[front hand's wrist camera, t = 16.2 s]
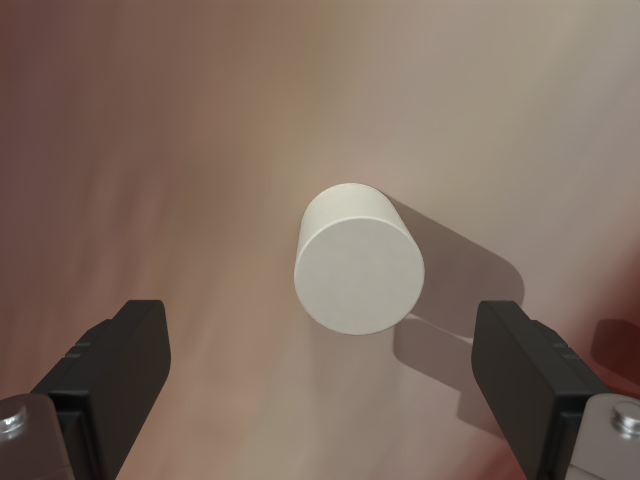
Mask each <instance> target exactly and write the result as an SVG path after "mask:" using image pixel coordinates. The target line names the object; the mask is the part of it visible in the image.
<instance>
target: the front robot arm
mask: <svg viewBox="0 0 640 480" xmlns="http://www.w3.org/2000/svg"><path fill="white" fill-rule="evenodd" d="M471 362H472V370H473V374H474V377H475V380H476V382H477V384H478V385H479V387H480V389H481V391H482V393H483V395H484V397H485V399H486V401H487V403H488V405H489V407H490V409H491V410H492V412H493V414H494V416H495V418H496V420H497V422H498V424H499V426H500V428H501V430H502V432H503V434H504V435H505V437H506V439H507V441H508V443H509V445H510V447H511V449H512V451H513V453H514V455H515V457H516V459H517V460H518V462H519V464H520V466H521V468H522V470H523V472H524V474H525V476H526V478H527V480H640V400H637V399H635V398H631V397H628V396H624V395H619V394H614V393H613V392H612V391H611V390H610V389H609V388H608V387H607V386H606V385H605V384H604V383H603V382H602V381H601V380H600V379H599V377H598V376H597V375H596V374H595V373H594V372H593V371H592V370H591V369H590V368H589V367H588V366H587V365H586V364H585V363H584V361H583V360H582V359H579V358H578V355H577V354H576V353H575V352H574V351H573V350H572V349H571V348H570V347H568V344H567V343H566V342H565V341H564V340H563V339H562V338H561V337H560V336H559V335H558V334H557V333H556V332H555V331H554V330H552V329H550V328H549V327H547V326H545V325H544V324H542V323H540V322H539V321H537V320H530V318H529V317H528V316H527V315H526V314H525V313H524V312H523V310H522V309H521V308H520V307H519V306H518V305H517V304H516V303H515V302H514V301H481V302H480V304H479V307H478V311H477V318H476V326H475V333H474V340H473V347H472V355H471ZM170 364H171V352H170V344H169V337H168V330H167V322H166V315H165V308H164V305H163V303H162V301H161V300H129V301H128V302H127V303H126V304H125V305H124V306H123V307H122V308H121V309H120V311H119V312H118V313H117V314H116V315H115V316H114V317H113V319H106V320H104V321H103V322H101V323H99V324H98V325H96V326H94V327H93V328H91V329H89V330H88V331H87V332H86V333H85V334H84V335H83V336H82V337H81V338H80V339H79V340H78V341H77V342H76V344H75V346H73V347H72V348H71V349H70V350H69V351H68V352H67V353H66V354H65V358H62V359H61V360H60V361H59V362H58V363H57V364H56V365H55V366H54V367H53V368H52V369H51V370H50V372H49V373H48V374H47V375H46V376H45V377H44V378H43V379H42V380H41V381H40V382H39V383H38V384H37V386H36V387H35V388H34V389H33V390H32V391H31V392H30V393H29V394H21V395H16V396H12V397H9V398H5V399H3V400H0V480H115V479H116V477H117V475H118V473H119V471H120V469H121V467H122V465H123V463H124V461H125V459H126V457H127V455H128V453H129V452H130V450H131V448H132V446H133V444H134V442H135V440H136V438H137V436H138V434H139V432H140V430H141V428H142V426H143V424H144V422H145V420H146V418H147V416H148V415H149V413H150V411H151V409H152V407H153V405H154V403H155V401H156V399H157V397H158V395H159V393H160V391H161V389H162V387H163V385H164V383H165V381H166V379H167V377H168V374H169V370H170Z"/></svg>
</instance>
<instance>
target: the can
mask: <svg viewBox="0 0 640 480" xmlns="http://www.w3.org/2000/svg"><path fill="white" fill-rule="evenodd" d="M424 279H425V268H424V261H423V258H422V255H421V252H420V250H419V248H418V246H417V245H416V243H415V241H414V240H413V238H412V236H411V235H410V233H409V231H408V230H407V228H406V226H405V225H404V223H403V221H402V220H401V218H400V216H399V215H398V213H397V212H396V210H395V208H394V207H393V205H392V204H391V202H390V201H389V200H388V199H387V198H386V197H385V196H384V195H383V194H382V193H380V192H379V191H377V190H376V189H374V188H372V187H369V186H366V185H362V184H355V183H347V184H340V185H336V186H333V187H331V188H329V189H327V190H325V191H323V192H322V193H320V194H319V195H318V196H317V197H316V198H314V200H313V201H312V202H311V203H310V204H309V206H308V207H307V209H306V211H305V213H304V215H303V219H302V223H301V229H300V236H299V243H298V250H297V257H296V263H295V270H294V283H295V289H296V293H297V296H298V298H299V301H300V303H301V304H302V306H303V308H304V309H305V310H306V312H307V313H308V314H309V315H310V316H311V317H312V318H313V319H314V320H315V321H316V322H318V323H319V324H320V325H322V326H324V327H326V328H327V329H330V330H332V331H334V332H338V333H341V334H346V335H357V336H360V335H369V334H375V333H378V332H381V331H384V330H386V329H389V328H391V327H392V326H394V325H396V324H397V323H399V322H400V321H401V320H403V319H404V318H405V317H406V316H407V315H408V314H409V313H410V312H411V310H412V309H413V308H414V306H415V305H416V303H417V301H418V300H419V297H420V295H421V293H422V289H423V286H424Z"/></svg>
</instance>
